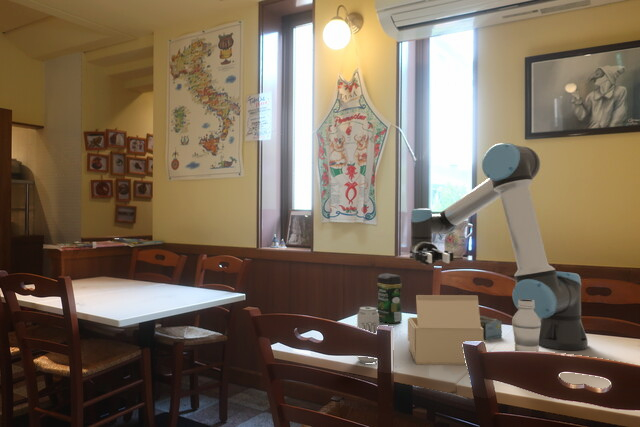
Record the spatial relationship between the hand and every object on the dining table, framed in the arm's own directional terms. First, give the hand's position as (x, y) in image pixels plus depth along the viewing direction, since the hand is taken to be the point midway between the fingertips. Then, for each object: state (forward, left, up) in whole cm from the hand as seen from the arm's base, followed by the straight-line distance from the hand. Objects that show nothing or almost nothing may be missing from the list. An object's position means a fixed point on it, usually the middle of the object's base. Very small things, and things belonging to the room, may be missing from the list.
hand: (439, 258), depth 144 cm
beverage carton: (-16, -25, -28) cm, 41 cm away
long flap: (0, +11, -14) cm, 18 cm away
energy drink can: (+22, +11, -28) cm, 37 cm away
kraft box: (0, +6, -28) cm, 29 cm away
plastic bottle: (-16, +26, -28) cm, 41 cm away
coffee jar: (+11, -42, -28) cm, 52 cm away
